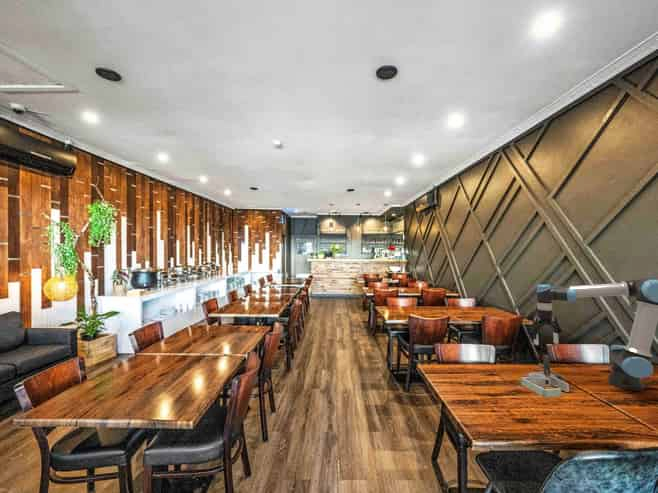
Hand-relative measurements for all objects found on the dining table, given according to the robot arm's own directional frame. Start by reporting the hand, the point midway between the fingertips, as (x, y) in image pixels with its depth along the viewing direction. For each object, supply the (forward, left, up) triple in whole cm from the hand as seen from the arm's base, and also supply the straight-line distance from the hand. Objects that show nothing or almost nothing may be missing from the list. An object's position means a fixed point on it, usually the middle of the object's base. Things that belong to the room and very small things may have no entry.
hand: (546, 344), depth 184 cm
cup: (+14, +10, -23) cm, 29 cm away
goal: (+15, +11, -22) cm, 29 cm away
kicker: (0, +6, -22) cm, 23 cm away
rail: (+3, 0, -22) cm, 23 cm away
